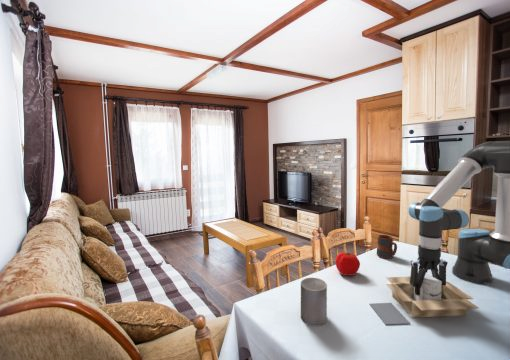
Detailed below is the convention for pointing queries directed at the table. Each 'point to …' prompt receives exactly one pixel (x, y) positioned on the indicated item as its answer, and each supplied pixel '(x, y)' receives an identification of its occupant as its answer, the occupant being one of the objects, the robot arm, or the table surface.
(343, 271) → the tomato
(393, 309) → the mat
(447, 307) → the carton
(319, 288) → the pillar candle
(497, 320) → the table surface
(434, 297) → the ink box
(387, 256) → the mug
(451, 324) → the table surface
